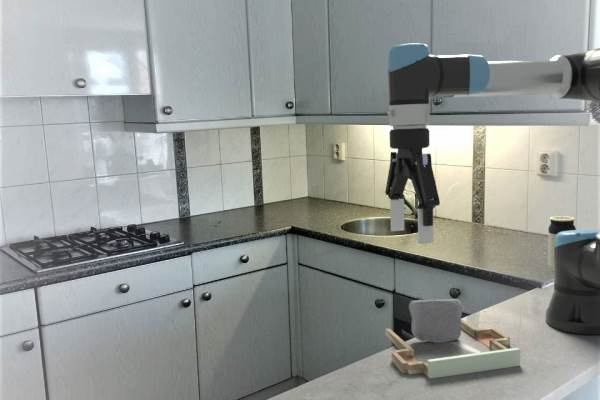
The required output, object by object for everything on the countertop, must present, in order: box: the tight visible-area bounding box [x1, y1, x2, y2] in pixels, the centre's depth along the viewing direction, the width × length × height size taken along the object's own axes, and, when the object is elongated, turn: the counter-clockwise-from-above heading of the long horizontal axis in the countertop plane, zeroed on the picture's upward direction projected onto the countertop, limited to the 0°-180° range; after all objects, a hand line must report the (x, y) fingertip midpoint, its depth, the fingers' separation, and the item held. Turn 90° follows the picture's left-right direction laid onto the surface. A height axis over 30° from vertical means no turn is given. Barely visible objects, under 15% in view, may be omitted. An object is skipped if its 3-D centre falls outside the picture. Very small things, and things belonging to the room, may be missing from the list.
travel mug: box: [547, 215, 577, 267], centre depth 188 cm, size 8×8×18 cm
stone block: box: [408, 298, 463, 344], centre depth 134 cm, size 12×5×10 cm, turn 92°
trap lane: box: [385, 319, 521, 379], centre depth 129 cm, size 28×24×4 cm
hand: (410, 236), depth 114 cm, fingers open, 13 cm apart
